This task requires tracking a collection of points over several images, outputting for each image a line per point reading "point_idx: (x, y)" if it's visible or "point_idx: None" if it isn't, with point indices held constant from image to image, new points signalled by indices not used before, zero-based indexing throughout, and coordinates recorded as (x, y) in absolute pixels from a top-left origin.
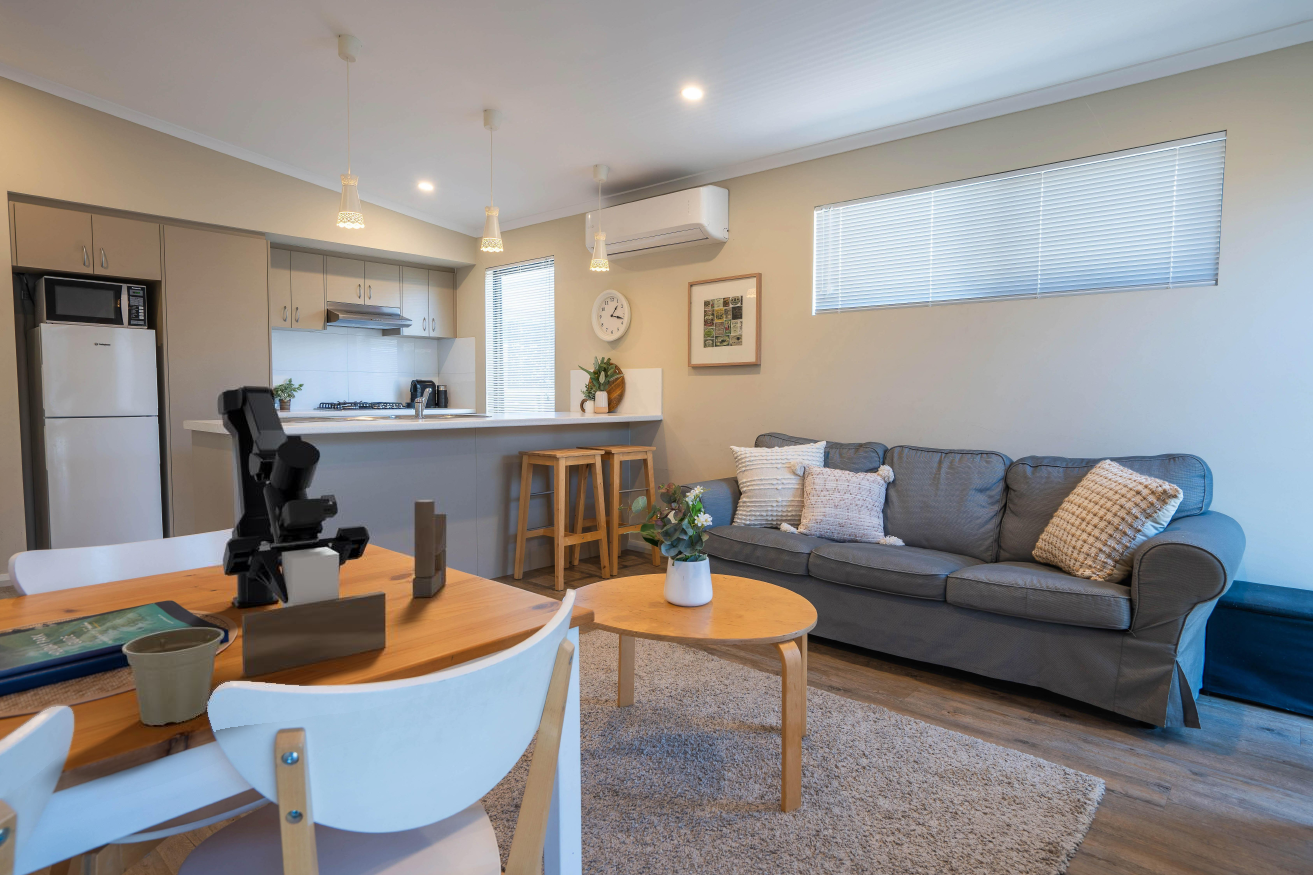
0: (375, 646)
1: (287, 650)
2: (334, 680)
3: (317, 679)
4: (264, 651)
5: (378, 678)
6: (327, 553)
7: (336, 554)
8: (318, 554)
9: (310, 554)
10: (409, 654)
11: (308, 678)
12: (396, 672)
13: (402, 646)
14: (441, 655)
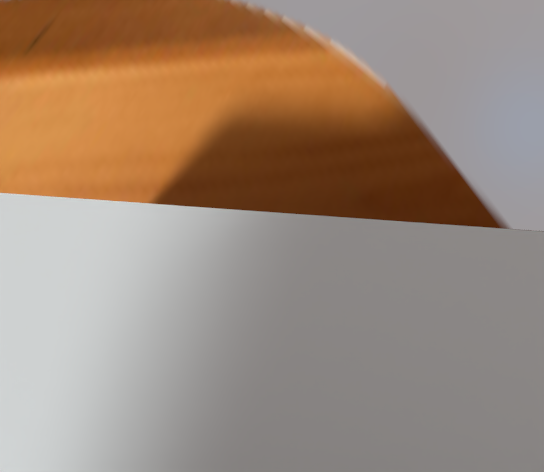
0: None
1: None
2: (344, 90)
3: (377, 128)
4: None
5: (251, 29)
6: (105, 324)
7: (26, 195)
8: (258, 355)
9: (378, 470)
10: (99, 139)
11: (394, 153)
12: (198, 37)
13: None
14: (46, 71)
